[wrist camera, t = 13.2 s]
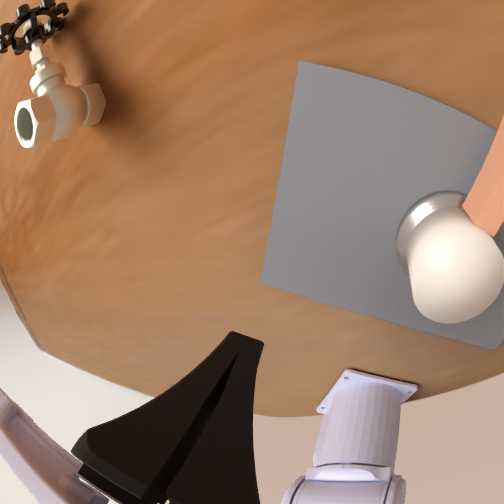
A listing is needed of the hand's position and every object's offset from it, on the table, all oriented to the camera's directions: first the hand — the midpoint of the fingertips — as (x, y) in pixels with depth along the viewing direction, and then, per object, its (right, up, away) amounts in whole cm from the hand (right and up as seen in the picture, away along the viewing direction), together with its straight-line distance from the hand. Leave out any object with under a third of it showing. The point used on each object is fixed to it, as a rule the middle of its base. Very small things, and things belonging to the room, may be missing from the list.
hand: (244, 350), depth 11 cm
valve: (-14, +19, +5) cm, 24 cm away
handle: (+12, +7, -1) cm, 14 cm away
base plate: (+12, +5, +3) cm, 13 cm away
